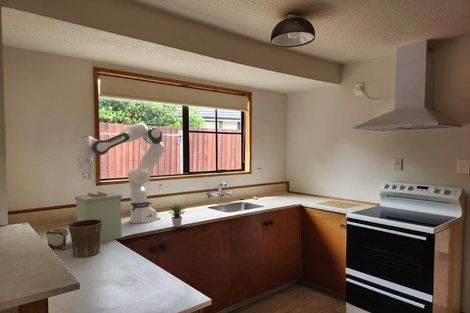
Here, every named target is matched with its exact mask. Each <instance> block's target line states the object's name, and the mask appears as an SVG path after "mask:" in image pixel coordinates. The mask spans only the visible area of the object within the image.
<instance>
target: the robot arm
mask: <svg viewBox="0 0 470 313" xmlns="http://www.w3.org/2000/svg"><path fill="white" fill-rule="evenodd" d="M141 138H143V140H144V141H145V142H146V143H147V144H149V145H150V146H149V147H148V149H147V151H146V152H144V153H145V154H144V155H143V156H142V157H141V159H140V163H139V165H138V167H135V168H132V169H130V170H129V171H128V173H127V179H128V182H129V189H130V217H129V222H130V223H133V224H145V223H149V222H154V221H158V220H160V219H161V216H159V215H158V212H157V210H156V209H154V208H153V207H151V206H150V205H152V201H148V200H147V199H148V197H147V196H148V194H147V191H148V190H147V189H146V186H145V184H146V183H149V181H150V179H151V175H152V173H153V170H154V168H155V167H156V165H157V164H158V162H159V160H160V159H161V157H162V156H163V154H164V152H165V149H166V147H165V145H164V144H163V143H162V141H163V132H162V130H161V128H159V127H156V126H155V127H151V128H148V126H147V125H146V124H145V123H144V122H140V123H134V124H133V125H130V126H127V127H126V128H124V129H122V130H121V132H119V133H118V134H117V135H115V136H112V137H111V138H108V139H104V140H103V139H102V140H101V139H99V140H98V139H96V138H94V137H93V136H91V135H87V136H86V135H85V136H81V137H80V138H79V139H78V151H79V153H78V158H77V162H78V163H77V164H78V171H79V173H81V176H82V179H87V180H92V179H91V177H92V174H94V173H95V166H94V154H95V155H98V156H103V155H106V154H107V153H108V152H109V151H110V150H111V149H112V148H114V147H116V146H118V145H121V144H125V143H131V142H134V141H137V140H139V139H141Z"/></svg>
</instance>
